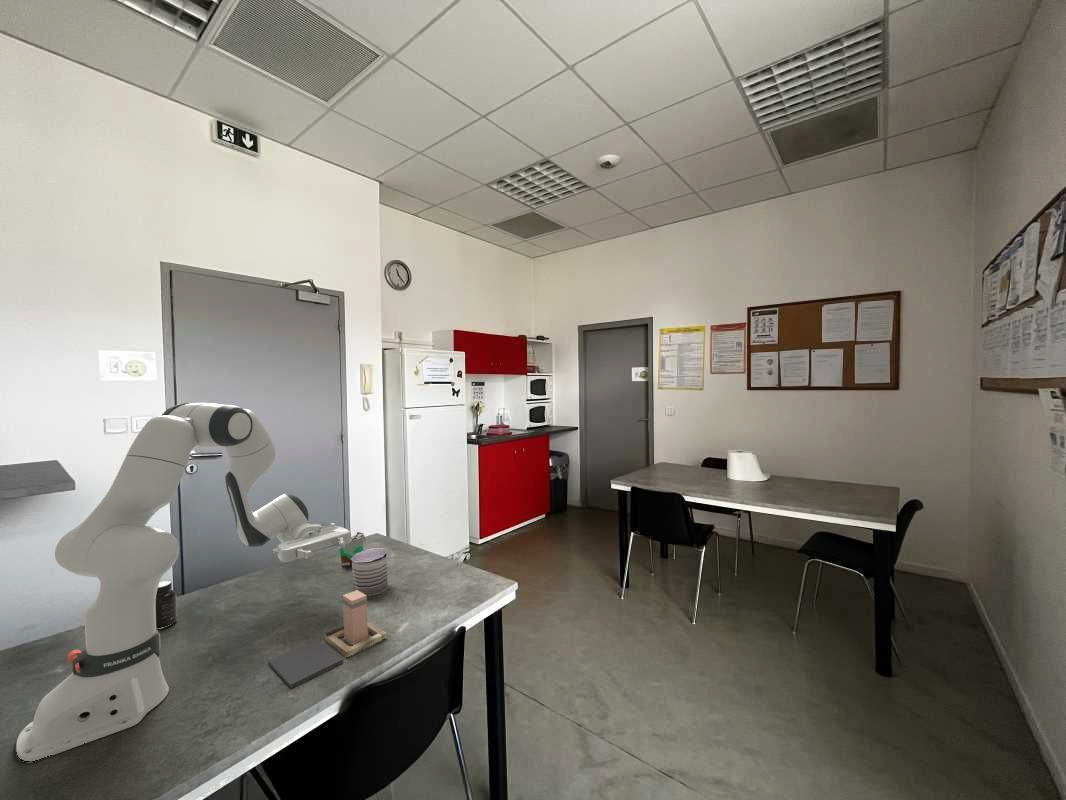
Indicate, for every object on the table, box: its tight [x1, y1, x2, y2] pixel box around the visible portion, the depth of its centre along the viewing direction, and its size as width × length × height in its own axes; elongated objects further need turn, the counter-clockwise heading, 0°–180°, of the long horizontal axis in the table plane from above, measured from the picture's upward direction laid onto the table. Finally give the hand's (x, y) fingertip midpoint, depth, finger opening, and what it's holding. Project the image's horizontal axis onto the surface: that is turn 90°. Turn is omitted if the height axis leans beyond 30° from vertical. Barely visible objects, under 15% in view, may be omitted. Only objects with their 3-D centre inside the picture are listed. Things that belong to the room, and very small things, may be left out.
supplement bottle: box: [156, 580, 178, 628], centre depth 128 cm, size 7×7×12 cm
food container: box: [339, 531, 366, 568], centre depth 171 cm, size 12×6×10 cm, turn 168°
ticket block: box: [342, 590, 369, 646], centre depth 119 cm, size 4×5×12 cm
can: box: [351, 547, 389, 597], centre depth 149 cm, size 11×11×12 cm
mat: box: [267, 638, 344, 689], centre depth 109 cm, size 12×14×1 cm
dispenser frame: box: [324, 619, 388, 658], centre depth 119 cm, size 11×12×2 cm
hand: (326, 550), depth 129 cm, fingers open, 8 cm apart
